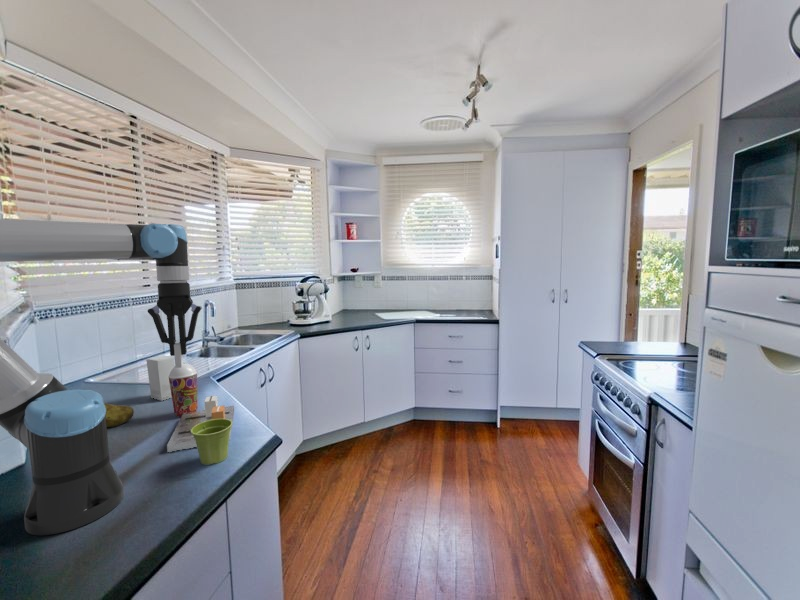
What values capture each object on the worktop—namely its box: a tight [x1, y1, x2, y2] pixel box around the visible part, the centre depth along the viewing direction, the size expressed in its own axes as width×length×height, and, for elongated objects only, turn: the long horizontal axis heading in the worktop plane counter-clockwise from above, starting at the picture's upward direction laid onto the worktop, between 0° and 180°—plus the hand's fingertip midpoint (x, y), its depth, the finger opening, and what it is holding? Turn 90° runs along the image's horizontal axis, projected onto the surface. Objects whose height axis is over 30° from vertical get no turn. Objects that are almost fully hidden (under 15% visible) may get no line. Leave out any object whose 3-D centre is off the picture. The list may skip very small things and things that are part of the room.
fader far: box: [204, 395, 219, 418], centre depth 118 cm, size 3×5×5 cm, turn 21°
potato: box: [104, 402, 135, 428], centre depth 117 cm, size 8×13×8 cm, turn 130°
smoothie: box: [168, 362, 198, 418], centre depth 125 cm, size 8×8×20 cm
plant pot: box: [191, 419, 234, 466], centre depth 94 cm, size 9×9×9 cm
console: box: [166, 405, 235, 453], centre depth 112 cm, size 15×24×2 cm, turn 21°
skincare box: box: [146, 355, 175, 402], centre depth 142 cm, size 8×7×16 cm
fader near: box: [211, 405, 226, 420], centre depth 109 cm, size 3×5×5 cm, turn 21°
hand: (179, 366), depth 104 cm, fingers closed
